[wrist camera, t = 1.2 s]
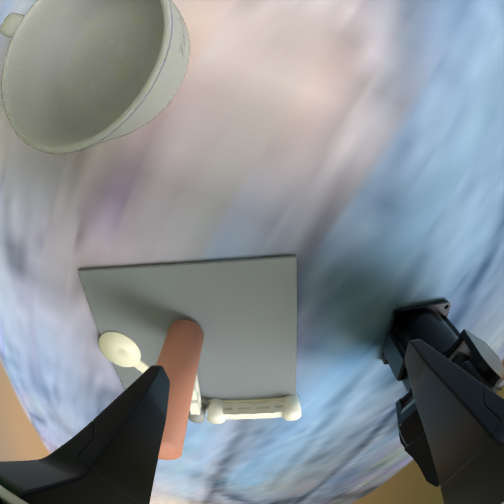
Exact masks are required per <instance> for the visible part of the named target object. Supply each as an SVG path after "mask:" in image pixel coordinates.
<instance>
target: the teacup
mask: <svg viewBox="0 0 504 504" xmlns="http://www.w3.org/2000/svg"><path fill="white" fill-rule="evenodd" d="M0 32H1V34H3V35H5V36H8V37H11V38H12V40H11V42H10V45H9V48H8V51H7V54H6V59H5V61H4V67H3V72H2V97H3V103H4V108H5V112H6V114H7V117H8V120H9V122H10V124H11V125H12V127H13V129H14V130H15V132H16V134H17V135H18V136H19V137H20V138H21V139H22V140H23V141H24V142H25V143H27V144H28V145H29V146H31V147H32V148H34V149H37V150H39V151H43V152H46V153H51V154H66V153H72V152H76V151H80V150H83V149H85V148H88V147H90V146H93V145H94V144H96V143H100V142H104V141H107V140H111V139H114V138H117V137H120V136H123V135H126V134H128V133H130V132H133V131H134V130H136V129H138V128H140V127H142V126H143V125H145V124H147V123H148V122H149V121H151V120H152V119H153V118H155V117H156V116H157V115H158V114H159V113H160V112H161V111H162V110H163V109H164V108H165V107H166V106H167V105H168V104H169V102H170V101H171V100H172V98H173V97H174V95H175V94H176V92H177V91H178V89H179V87H180V85H181V83H182V81H183V79H184V76H185V73H186V71H187V66H188V62H189V55H190V40H189V35H188V30H187V27H186V25H185V22H184V19H183V18H182V16H181V14H180V12H179V10H178V9H177V7H176V6H175V4H174V3H173V1H172V0H37V1H36V2H35V3H34V4H33V6H32V7H31V8H30V10H29V11H28V12H27V13H26V15H25V16H24V15H21V14H17V13H11V14H9V15H8V16H7V17H6V18H5V20H4V22H3V24H2V26H1V31H0Z"/></svg>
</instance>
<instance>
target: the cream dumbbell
mask: <svg viewBox="0 0 504 504" xmlns="http://www.w3.org/2000/svg"><path fill="white" fill-rule="evenodd" d="M276 417H283V418H284V419H285V420H288V421H293V420H297V419H299V418H300V417H301V409H300V402H299V396H298V394H297V393H295V395H288V396H285V397H284V399H283V400H282V401H275V400H274V401H269V402H251V403H238V402H232V403H224V402H223V400H222V399H212V400H210V402H209V406H208V414H207V420H208V421H209V422H211V423H214V424H221V423H223V422H224V421H225V419H233V420H239V419H257V418H276Z"/></svg>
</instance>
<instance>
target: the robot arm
mask: <svg viewBox="0 0 504 504" xmlns="http://www.w3.org/2000/svg"><path fill="white" fill-rule="evenodd" d="M450 305H451V304H450V303H449V302H448V301H440V302H435V303H429V304H423V305H417V306H411V307H405V308H399V309H396V310H395V311H394V312H393V314H392V319H391V324H390V329H389V331H388V333H387V337H386V341H385V346H384V350H383V353H384V354H383V358H382V361H383V363H384V364H389V365H390V367H391V369H392V371H393V373H394V375H395V377H396V379H397V380H398V381H402V382H403V384H404V386H405V388H406V390H407V392H408V393H407V394H406V395H405V396H404V397H403V398H402V399H399V400H398V401H397V402H396V409H397V418H398V428H399V436H400V441H401V443H402V444H403V446H404V448H405V451H406V452H407V453H408V454H409V455H410V456H412V457H413V459H414V460H415V461H416V463H417V464H418V465H419V467H420V469H421V471H422V473H423V475H424V477H425V478H426V480H427V482H429V483H430V484H432V485H434V486H436V487H439V486H441V492H442V496H443V501H444V504H504V368H503V366H502V363H501V361H500V358H499V357H498V356H497V355H496V353H495V352H494V351H493V350H492V349H491V348H490V347H489V346H488V345H487V344H486V343H485V342H484V341H482V340H481V339H479V338H478V337H476V336H474V335H473V334H471V333H470V332H468V331H467V330H465V329H464V330H463V331H462V332H461V334H460V333H459V331H458V330H457V329H456V328H455V327H454V325H453V324H452V323H451V322H450V321H449V320H448V318H447V316H448V313H449V309H450ZM399 313H400V314H399ZM398 314H399V315H398ZM169 389H170V381H169V378H168V376H167V374H166V372H165V370H164V368H163V367H162V366H160V365H152V366H150V367H149V368H148V369H147V370H146V371H145V372H144V373H143V374H142V375H141V376H140V377H139V378H138V379H136V380H135V381H134V382H133V383H132V384H131V385H130V386H129V387H128V388H127V389H126V390H125V391H124V392H123V393H122V394H120V395H119V396H118V397H117V398H116V399H115V400H114V401H113V402H112V403H111V404H110V405H109V406H108V407H107V408H105V409H104V410H103V411H102V412H101V413H100V414H99V415H98V416H97V417H96V418H95V419H94V420H93V421H91V422H90V423H89V424H88V425H87V426H86V427H85V428H84V429H83V430H81V431H80V432H79V433H78V434H77V435H75V436H74V437H73V438H72V439H70V440H69V441H68V442H66V443H65V444H64V445H62V446H61V447H60V448H58V449H57V450H55V451H54V452H53V453H51V454H50V455H49V456H47V457H45V458H42V459H38V460H30V461H9V462H0V486H1V487H0V504H149V502H150V497H151V491H152V486H153V481H154V476H155V471H156V466H157V461H158V456H159V451H160V446H161V442H162V437H163V432H164V428H165V423H166V417H167V408H168V399H169Z"/></svg>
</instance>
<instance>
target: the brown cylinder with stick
mask: <svg viewBox="0 0 504 504" xmlns="http://www.w3.org/2000/svg"><path fill="white" fill-rule="evenodd" d="M203 340H204V333H203V330H202V329H201V327H200V326H199V325H197V324H196V323H194V322H192V321H189V320H177V321H175V322H173V323H172V324H171V326H170V327H169V330H168V333H167V335H166V338H165V341H164V343H163V346H162V349H161V352H160V354H159V357H158V360H157V363H156V365H160V366H162V367H163V368H164V370H165V372H166V374H167V376H168V378H169V381H170V389H169V399H168V408H167V417H166V423H165V428H164V432H163V437H162V442H161V446H160V451H159V456H158V459H164V460H173V459H177V458H179V457H180V456H181V455H182V450H183V444H184V438H185V433H186V427H187V422H188V416H189V420H190V421H192V422H195V423H202V422H204V419H205V411H206V407H205V405H203V404H202V401H201V395H200V389H199V383H198V377H197V370H198V365H199V360H200V355H201V350H202V345H203ZM189 411H190V412H189Z"/></svg>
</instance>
